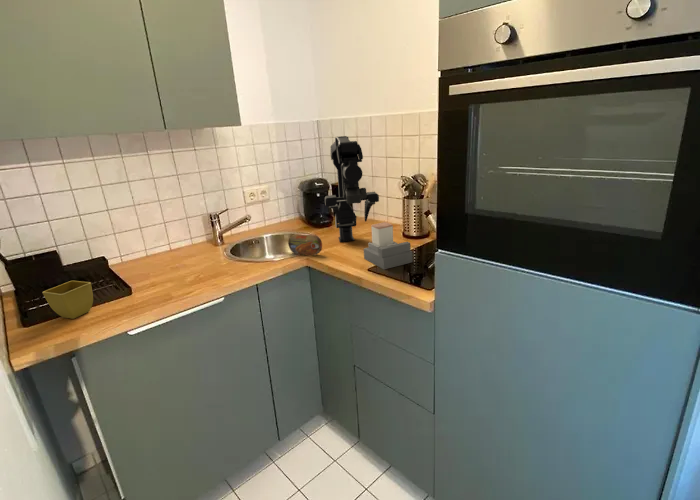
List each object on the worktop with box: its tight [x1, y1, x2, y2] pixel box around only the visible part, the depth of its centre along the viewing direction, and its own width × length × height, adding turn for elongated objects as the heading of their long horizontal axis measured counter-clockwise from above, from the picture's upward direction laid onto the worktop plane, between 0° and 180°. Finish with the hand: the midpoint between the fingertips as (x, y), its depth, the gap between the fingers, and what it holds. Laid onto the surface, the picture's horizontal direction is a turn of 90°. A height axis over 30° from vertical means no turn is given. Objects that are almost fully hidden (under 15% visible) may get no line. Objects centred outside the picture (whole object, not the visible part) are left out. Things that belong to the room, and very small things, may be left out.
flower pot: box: [42, 280, 94, 319], centre depth 110 cm, size 9×9×9 cm
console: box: [363, 240, 413, 270], centre depth 137 cm, size 14×12×7 cm
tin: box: [287, 233, 323, 256], centre depth 151 cm, size 15×3×8 cm, turn 62°
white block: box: [370, 221, 394, 248], centre depth 138 cm, size 5×6×9 cm
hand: (353, 222), depth 136 cm, fingers open, 9 cm apart
